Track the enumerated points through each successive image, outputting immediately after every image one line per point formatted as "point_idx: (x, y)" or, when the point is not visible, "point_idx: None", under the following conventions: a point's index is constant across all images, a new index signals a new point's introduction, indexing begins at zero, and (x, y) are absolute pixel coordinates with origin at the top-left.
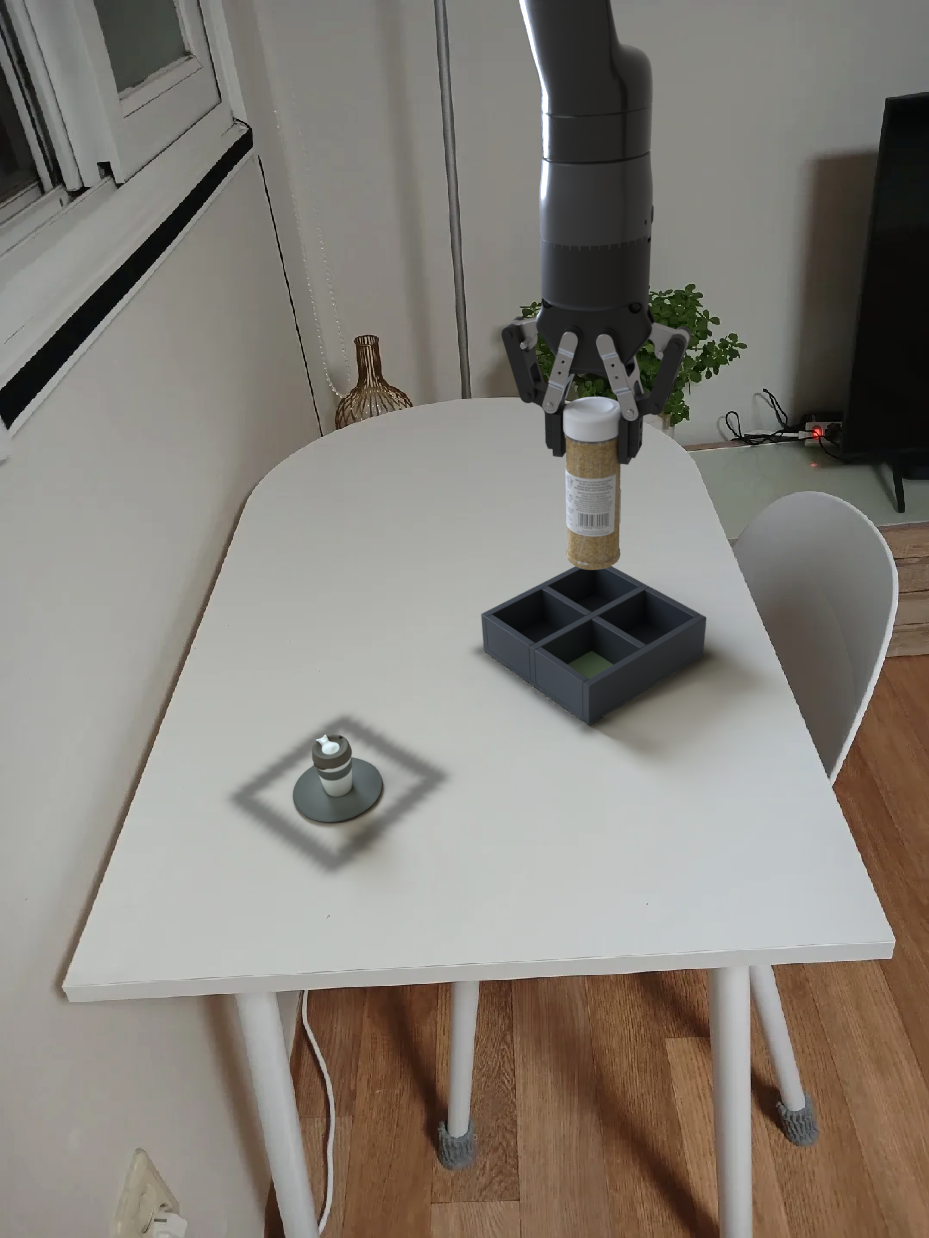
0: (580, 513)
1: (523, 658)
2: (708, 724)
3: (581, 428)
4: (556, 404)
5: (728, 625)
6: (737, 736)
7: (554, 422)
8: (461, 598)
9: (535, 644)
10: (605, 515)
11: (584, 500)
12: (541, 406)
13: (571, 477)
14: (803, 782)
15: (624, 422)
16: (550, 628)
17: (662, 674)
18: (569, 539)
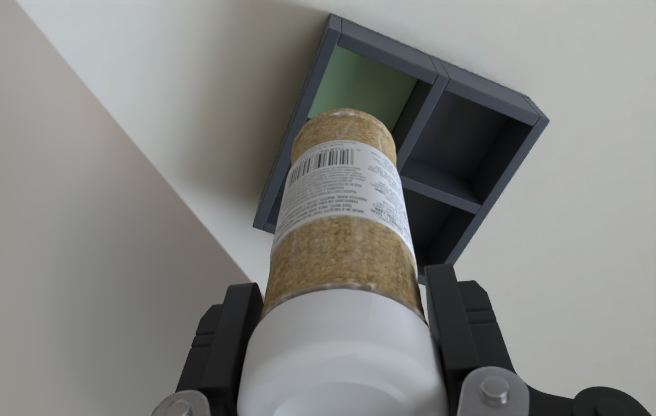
0: (347, 164)
1: (457, 74)
2: (200, 82)
3: (339, 321)
4: (468, 401)
5: (258, 253)
6: (161, 76)
7: (464, 342)
8: (599, 186)
9: (442, 86)
10: (293, 182)
11: (336, 182)
12: (534, 391)
13: (378, 217)
14: (61, 32)
15: (212, 384)
16: (453, 168)
17: (283, 138)
18: (381, 143)
